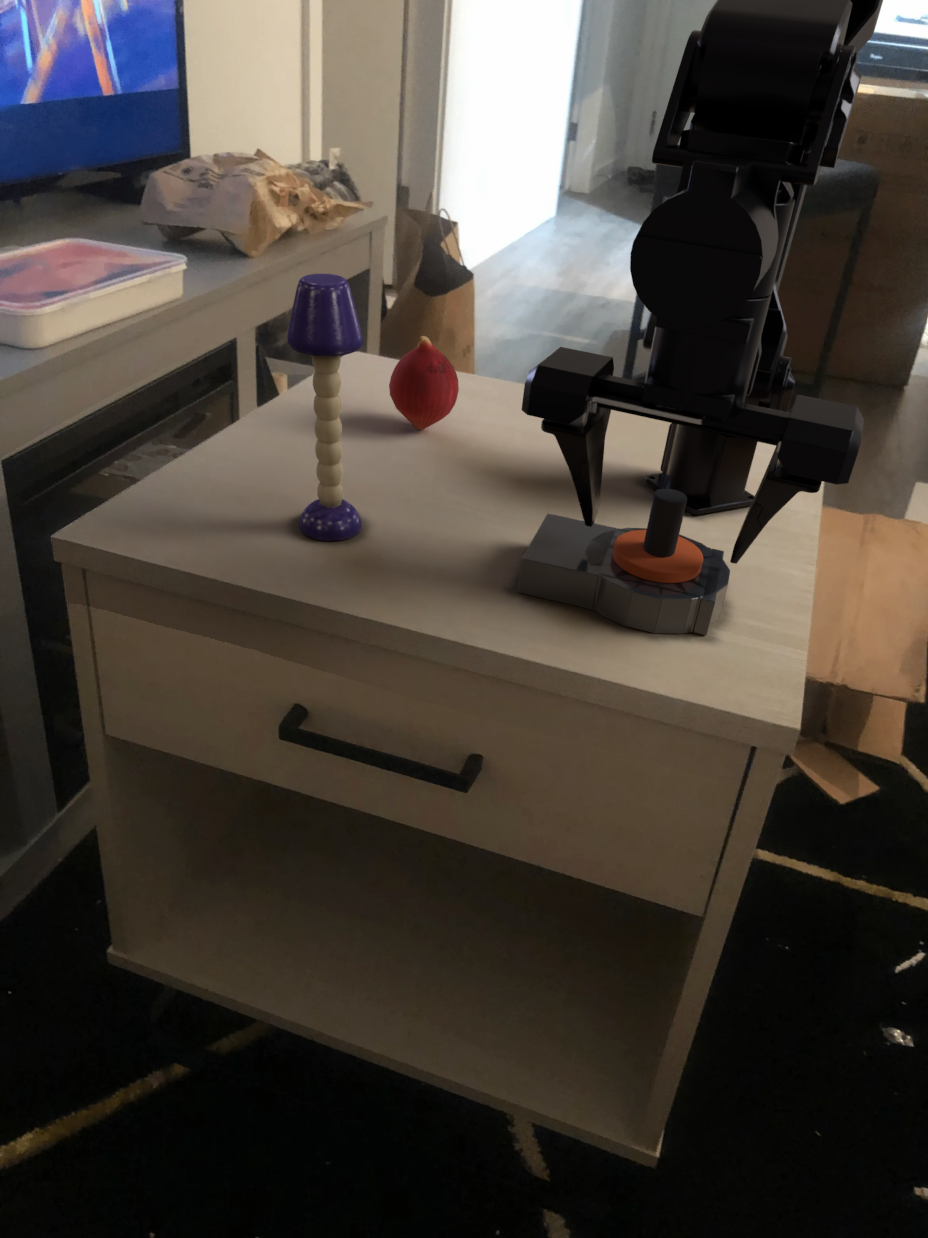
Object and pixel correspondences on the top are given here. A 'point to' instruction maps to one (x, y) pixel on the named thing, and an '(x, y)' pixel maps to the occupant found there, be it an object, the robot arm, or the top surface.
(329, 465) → the toy lamp
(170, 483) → the top surface
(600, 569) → the plate
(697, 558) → the stopper
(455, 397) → the onion
